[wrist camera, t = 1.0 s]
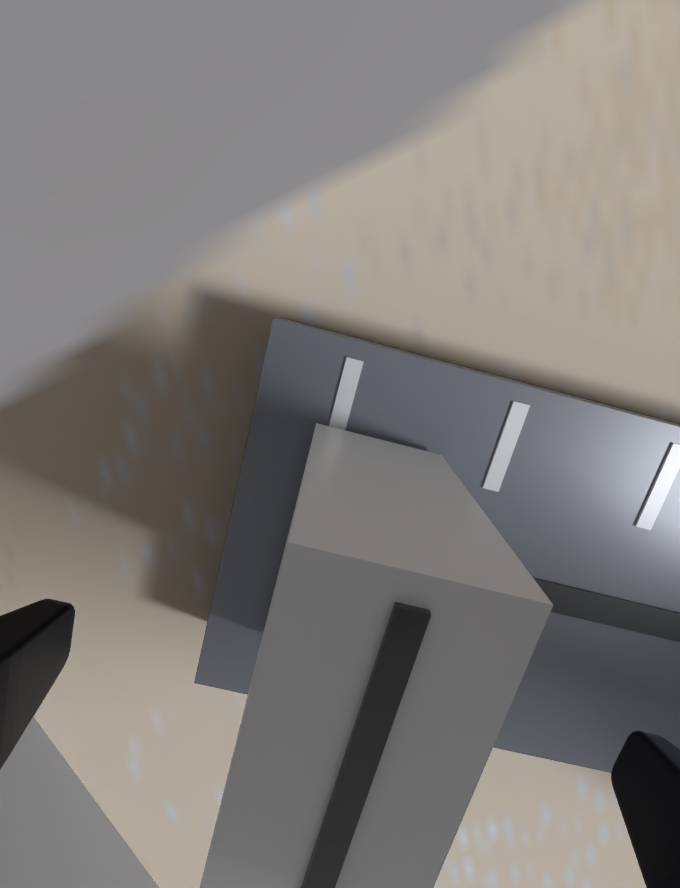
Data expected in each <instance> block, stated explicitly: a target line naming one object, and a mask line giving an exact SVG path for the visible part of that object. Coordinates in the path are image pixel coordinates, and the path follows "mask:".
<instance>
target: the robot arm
mask: <svg viewBox="0 0 680 888" xmlns="http://www.w3.org/2000/svg"><path fill="white" fill-rule="evenodd" d="M74 617H75V609H74V606H73V605H72V604H70V603H66V602H62V601H57V600H53V599H44V600H40V601H38V602H35V603H32V604H30V605H27V606H25V607H22V608H20V609H17V610H14V611H12V612H9V613H7V614H4V615H1V616H0V770H1V768H2V767H3V765H4V764H5V762H6V760H7V759H8V757H9V756H10V754H11V753H12V751H13V749H14V748H15V746H16V744H17V743H18V741H19V739H20V738H21V736H22V734H23V733H24V731H25V729H26V728H27V726H28V725H29V723H30V721H31V720H32V718H33V716H34V715H35V713H36V711H37V710H38V708H39V706H40V705H41V703H42V701H43V700H44V698H45V697H46V695H47V693H48V692H49V690H50V688H51V687H52V685H53V683H54V682H55V680H56V678H57V677H58V675H59V674H60V672H61V670H62V669H63V667H64V665H65V663H66V661H67V658H68V656H69V652H70V647H71V639H72V632H73V624H74ZM611 780H612V785H613V789H614V792H615V795H616V798H617V801H618V804H619V807H620V810H621V813H622V816H623V819H624V822H625V825H626V828H627V831H628V834H629V837H630V840H631V843H632V846H633V848H634V851H635V854H636V857H637V860H638V863H639V866H640V869H641V872H642V875H643V878H644V881H645V884H646V887H647V888H680V749H678V748H677V747H676V746H674V745H673V744H672V743H670V742H669V741H668V740H667V739H665V738H664V737H662V736H660V735H657V734H652V733H648V732H643V731H633V732H632V733H631V734H629V736H628V737H627V739H626V741H625V743H624V745H623V747H622V749H621V751H620V753H619V755H618V757H617V759H616V761H615V763H614V765H613V767H612V772H611Z"/></svg>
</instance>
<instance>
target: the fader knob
mask: <svg viewBox="0 0 680 888" xmlns="http://www.w3.org/2000/svg"><path fill="white" fill-rule="evenodd" d="M552 607H553V604H552V602H551V601H550V600H549V598H548V597H547V596H546V594H545V593H544V592H543V590H542V589H541V588H540V586H539V585H538V584H537V582H536V581H535V580H534V578H533V577H532V576H531V574H530V573H529V572H528V570H527V569H526V568H525V566H524V565H523V564H522V562H521V561H520V560H519V558H518V557H517V556H516V554H515V553H514V552H513V550H512V549H511V548H510V546H509V545H508V544H507V542H506V541H505V539H504V538H503V537H502V535H501V534H500V533H499V531H498V530H497V529H496V527H495V526H494V525H493V523H492V522H491V521H490V519H489V518H488V517H487V515H486V514H485V513H484V511H483V510H482V509H481V507H480V506H479V505H478V503H477V502H476V501H475V499H474V498H473V497H472V495H471V494H470V493H469V491H468V490H467V489H466V487H465V486H464V485H463V483H462V482H461V481H460V479H459V478H458V477H457V475H456V474H455V473H454V471H453V470H452V468H451V467H450V466H449V464H448V463H447V462H446V460H445V459H444V458H443V456H442V455H440V454H436V453H432V452H428V451H424V450H420V449H416V448H412V447H409V446H405V445H401V444H397V443H393V442H389V441H385V440H381V439H377V438H373V437H369V436H365V435H361V434H357V433H353V432H350V431H346V430H342V429H338V428H334V427H330V426H326V425H322V424H318V423H316V426H315V430H314V434H313V438H312V442H311V446H310V450H309V454H308V458H307V462H306V466H305V470H304V474H303V478H302V482H301V486H300V490H299V494H298V498H297V501H296V505H295V509H294V513H293V517H292V521H291V525H290V529H289V533H288V537H287V541H286V545H285V549H284V553H283V557H282V561H281V565H280V569H279V573H278V577H277V581H276V585H275V589H274V592H273V596H272V600H271V604H270V608H269V612H268V616H267V620H266V624H265V628H264V632H263V636H262V640H261V644H260V648H259V652H258V656H257V660H256V664H255V668H254V672H253V676H252V680H251V684H250V688H249V692H248V696H247V700H246V704H245V708H244V712H243V716H242V720H241V724H240V728H239V732H238V736H237V740H236V744H235V749H234V753H233V757H232V761H231V765H230V769H229V773H228V777H227V781H226V785H225V789H224V793H223V797H222V801H221V805H220V809H219V813H218V817H217V821H216V825H215V829H214V833H213V837H212V841H211V845H210V849H209V853H208V857H207V861H206V865H205V869H204V873H203V877H202V881H201V885H200V888H433V887H434V884H435V882H436V880H437V877H438V875H439V873H440V870H441V868H442V866H443V863H444V861H445V859H446V856H447V854H448V851H449V849H450V847H451V844H452V842H453V840H454V837H455V835H456V833H457V830H458V828H459V826H460V823H461V821H462V819H463V816H464V814H465V812H466V809H467V807H468V804H469V802H470V800H471V797H472V795H473V793H474V790H475V788H476V786H477V783H478V781H479V779H480V776H481V774H482V772H483V769H484V767H485V765H486V762H487V760H488V757H489V755H490V753H491V750H492V748H493V746H494V743H495V741H496V739H497V736H498V734H499V732H500V729H501V727H502V725H503V722H504V720H505V718H506V715H507V713H508V710H509V708H510V706H511V703H512V701H513V699H514V696H515V694H516V692H517V689H518V687H519V685H520V682H521V680H522V678H523V675H524V673H525V671H526V668H527V666H528V664H529V661H530V659H531V656H532V654H533V652H534V649H535V647H536V645H537V642H538V640H539V638H540V635H541V633H542V631H543V628H544V626H545V624H546V621H547V619H548V617H549V614H550V612H551V609H552Z"/></svg>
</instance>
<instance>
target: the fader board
mask: <svg viewBox="0 0 680 888" xmlns="http://www.w3.org/2000/svg"><path fill="white" fill-rule="evenodd" d="M316 423H318V424H322V425H326V426H330V427H334V428H338V429H342V430H346V431H350V432H353V433H357V434H361V435H365V436H369V437H373V438H377V439H381V440H385V441H389V442H393V443H397V444H401V445H405V446H409V447H412V448H416V449H420V450H424V451H428V452H432V453H436V454H440V455H442V456H443V458H444V459H445V460H446V462H447V463H448V464H449V466H450V467H451V468H452V470H453V471H454V473H455V474H456V475H457V477H458V478H459V479H460V481H461V482H462V483H463V485H464V486H465V487H466V489H467V490H468V491H469V493H470V494H471V495H472V497H473V498H474V499H475V501H476V502H477V503H478V505H479V506H480V507H481V509H482V510H483V511H484V513H485V514H486V515H487V517H488V518H489V519H490V521H491V522H492V523H493V525H494V526H495V527H496V529H497V530H498V531H499V533H500V534H501V535H502V537H503V538H504V539H505V541H506V542H507V544H508V545H509V546H510V548H511V549H512V550H513V552H514V553H515V554H516V556H517V557H518V558H519V560H520V561H521V562H522V564H523V565H524V566H525V568H526V569H527V570H528V572H529V573H530V574H531V576H532V577H533V578H534V580H535V581H536V582H537V584H538V585H539V586H540V588H541V589H542V590H543V592H544V593H545V594H546V596H547V597H548V598H549V600H550V601H551V602H552V604H553V607H552V609H551V612H550V614H549V617H548V619H547V621H546V624H545V626H544V628H543V631H542V633H541V635H540V638H539V640H538V642H537V645H536V647H535V649H534V652H533V654H532V656H531V659H530V661H529V664H528V666H527V668H526V671H525V673H524V675H523V678H522V680H521V682H520V685H519V687H518V689H517V692H516V694H515V696H514V699H513V701H512V703H511V706H510V708H509V710H508V713H507V715H506V718H505V720H504V722H503V725H502V727H501V729H500V732H499V734H498V736H497V739H496V741H495V743H494V746H493V747H494V748H499V749H503V750H508V751H513V752H517V753H522V754H527V755H531V756H536V757H541V758H545V759H550V760H555V761H559V762H564V763H568V764H573V765H578V766H582V767H587V768H592V769H596V770H601V771H606V772H610V773H611V772H612V767H613V765H614V763H615V761H616V759H617V757H618V755H619V753H620V751H621V749H622V747H623V745H624V743H625V741H626V739H627V737H628V736H629V734H631V733H632V732H633V731H643V732H648V733H652V734H657V735H660V736H662V737H664V738H665V739H667V740H668V741H669V742H670V743H672V744H673V745H674V746H676V747H677V748H678V749H680V424H677V423H674V422H670V421H666V420H662V419H659V418H655V417H651V416H647V415H644V414H640V413H636V412H632V411H629V410H625V409H621V408H617V407H614V406H610V405H606V404H602V403H599V402H595V401H591V400H587V399H584V398H580V397H576V396H572V395H569V394H565V393H561V392H557V391H554V390H550V389H546V388H542V387H539V386H535V385H531V384H527V383H524V382H520V381H516V380H512V379H509V378H505V377H501V376H497V375H494V374H490V373H486V372H483V371H479V370H475V369H471V368H468V367H464V366H460V365H456V364H453V363H449V362H445V361H441V360H438V359H434V358H430V357H426V356H423V355H419V354H415V353H411V352H408V351H404V350H400V349H396V348H393V347H389V346H385V345H381V344H378V343H374V342H370V341H366V340H363V339H359V338H355V337H351V336H348V335H344V334H340V333H336V332H333V331H329V330H325V329H321V328H318V327H314V326H310V325H306V324H303V323H299V322H295V321H292V320H288V319H273V322H272V326H271V331H270V335H269V340H268V345H267V349H266V354H265V358H264V363H263V368H262V372H261V377H260V382H259V386H258V391H257V395H256V400H255V405H254V409H253V414H252V418H251V423H250V428H249V432H248V437H247V442H246V446H245V451H244V455H243V460H242V465H241V469H240V474H239V479H238V483H237V488H236V492H235V497H234V502H233V506H232V511H231V515H230V520H229V525H228V529H227V534H226V539H225V543H224V548H223V552H222V557H221V562H220V566H219V571H218V576H217V580H216V585H215V589H214V594H213V599H212V603H211V608H210V612H209V617H208V622H207V626H206V631H205V636H204V640H203V645H202V649H201V654H200V659H199V663H198V668H197V672H196V677H195V682H194V683H197V684H202V685H206V686H211V687H216V688H220V689H225V690H230V691H234V692H239V693H243V694H248V692H249V688H250V684H251V680H252V676H253V672H254V668H255V664H256V660H257V656H258V652H259V648H260V644H261V640H262V636H263V632H264V628H265V624H266V620H267V616H268V612H269V608H270V604H271V600H272V596H273V592H274V589H275V585H276V581H277V577H278V573H279V569H280V565H281V561H282V557H283V553H284V549H285V545H286V541H287V537H288V533H289V529H290V525H291V521H292V517H293V513H294V509H295V505H296V501H297V498H298V494H299V490H300V486H301V482H302V478H303V474H304V470H305V466H306V462H307V458H308V454H309V450H310V446H311V442H312V438H313V434H314V430H315V426H316Z"/></svg>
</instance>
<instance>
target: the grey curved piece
mask: <svg viewBox="0 0 680 888" xmlns="http://www.w3.org/2000/svg"><path fill="white" fill-rule="evenodd" d="M0 888H159V887H158V886H157V884H156V883H155V882H154V880H153V879H152V877H151V876H150V875H149V873H148V872H147V871H146V869H145V868H144V867H143V865H142V864H141V862H140V861H139V860H138V858H137V857H136V856H135V854H134V853H133V852H132V850H131V849H130V847H129V846H128V845H127V843H126V842H125V841H124V839H123V838H122V837H121V835H120V834H119V832H118V831H117V830H116V828H115V827H114V826H113V824H112V823H111V822H110V820H109V819H108V818H107V816H106V815H105V813H104V812H103V811H102V809H101V808H100V807H99V805H98V804H97V803H96V801H95V800H94V798H93V797H92V796H91V794H90V793H89V792H88V790H87V789H86V788H85V786H84V785H83V783H82V782H81V781H80V779H79V778H78V777H77V775H76V774H75V773H74V771H73V770H72V768H71V767H70V766H69V764H68V763H67V762H66V760H65V759H64V758H63V756H62V755H61V754H60V752H59V751H58V749H57V748H56V747H55V745H54V744H53V743H52V741H51V740H50V739H49V737H48V736H47V734H46V733H45V732H44V730H43V729H42V728H41V726H40V725H39V724H38V722H37V721H36V719H35V718H34V717H33V718H32V720H31V721H30V723H29V725H28V726H27V728H26V729H25V731H24V733H23V734H22V736H21V738H20V739H19V741H18V743H17V744H16V746H15V748H14V749H13V751H12V753H11V754H10V756H9V757H8V759H7V760H6V762H5V764H4V765H3V767H2V768H1V770H0Z"/></svg>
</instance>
